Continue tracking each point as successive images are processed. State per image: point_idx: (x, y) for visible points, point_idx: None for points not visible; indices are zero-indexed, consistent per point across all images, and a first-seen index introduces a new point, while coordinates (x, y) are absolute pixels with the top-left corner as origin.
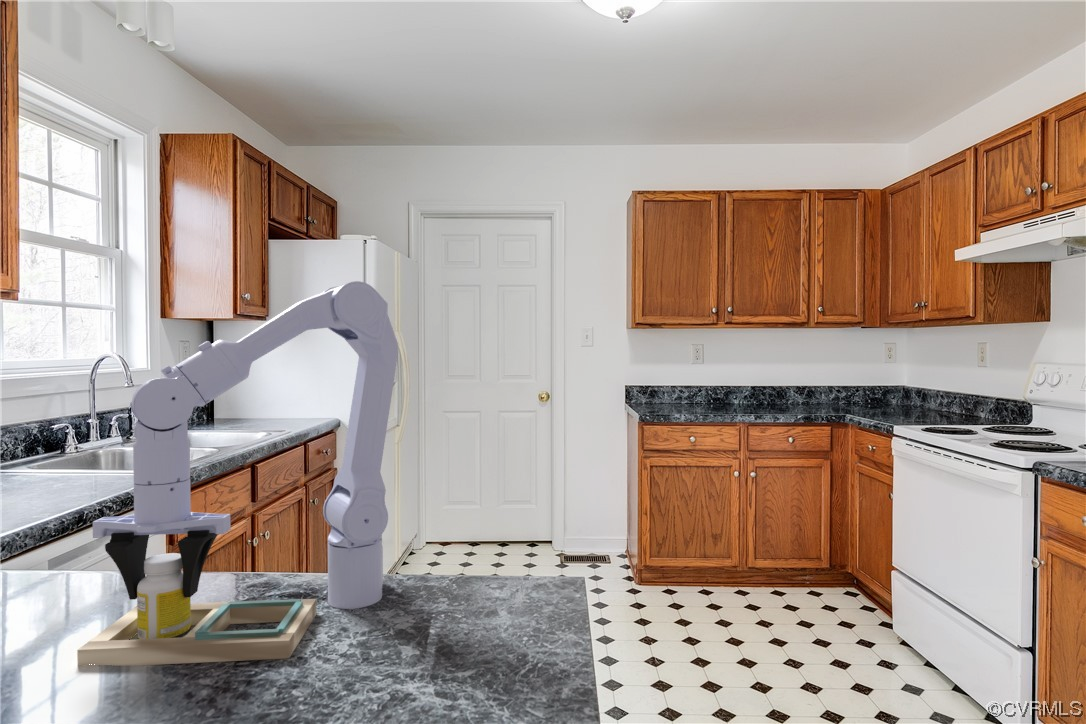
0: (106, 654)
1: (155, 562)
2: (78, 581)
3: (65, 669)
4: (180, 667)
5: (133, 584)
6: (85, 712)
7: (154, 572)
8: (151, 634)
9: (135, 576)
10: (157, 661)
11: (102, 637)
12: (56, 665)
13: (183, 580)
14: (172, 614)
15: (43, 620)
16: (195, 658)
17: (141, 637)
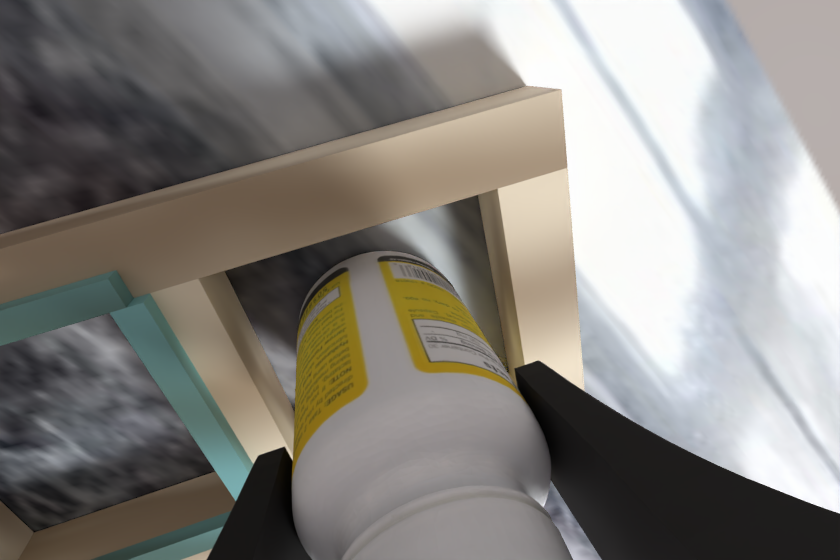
0: (443, 119)
1: None
2: (829, 500)
3: (565, 74)
4: (132, 162)
5: (555, 415)
6: None
7: (432, 511)
8: (369, 275)
9: (579, 464)
10: (246, 166)
11: (538, 207)
12: (614, 97)
13: (257, 525)
14: (309, 358)
15: (810, 334)
16: (94, 210)
17: (414, 267)
